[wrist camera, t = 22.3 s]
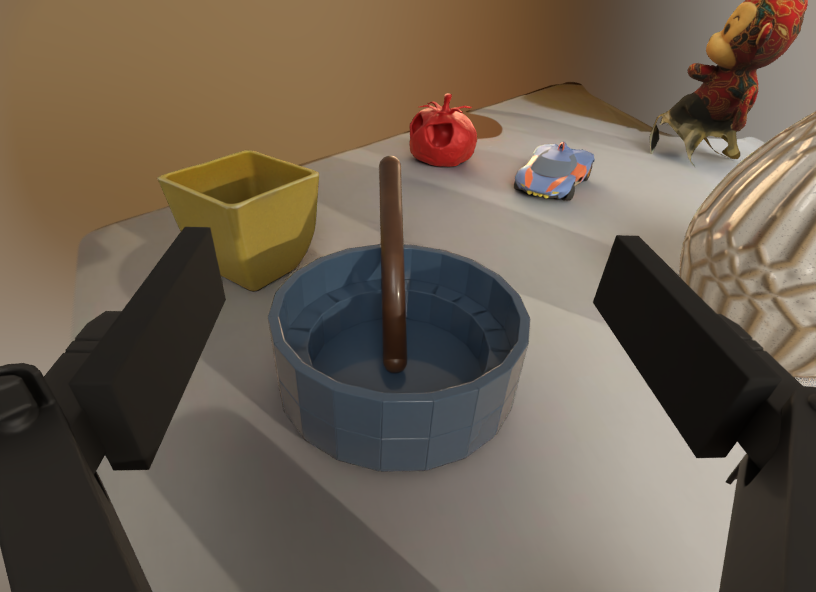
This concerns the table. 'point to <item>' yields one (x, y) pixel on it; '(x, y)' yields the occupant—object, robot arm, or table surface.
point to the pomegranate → (442, 135)
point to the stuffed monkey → (733, 73)
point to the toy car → (554, 171)
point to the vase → (763, 247)
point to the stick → (392, 266)
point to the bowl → (426, 358)
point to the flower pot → (248, 212)
